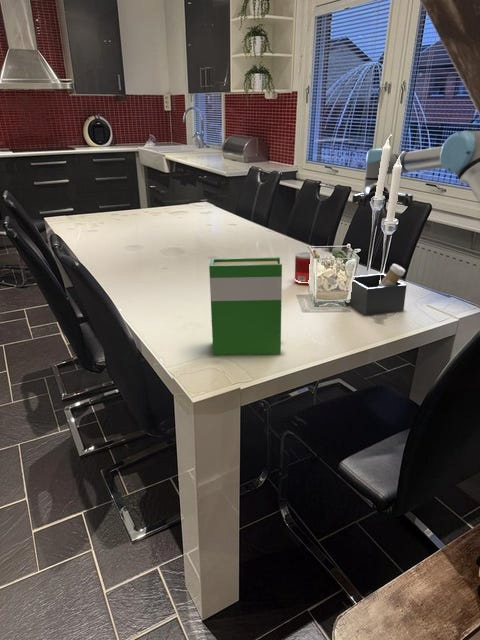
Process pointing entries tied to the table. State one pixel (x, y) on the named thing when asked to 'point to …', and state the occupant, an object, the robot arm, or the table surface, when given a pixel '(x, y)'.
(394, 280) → the sprinkles bottle
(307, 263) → the canned food
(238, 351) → the hardback book
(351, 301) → the black open box
